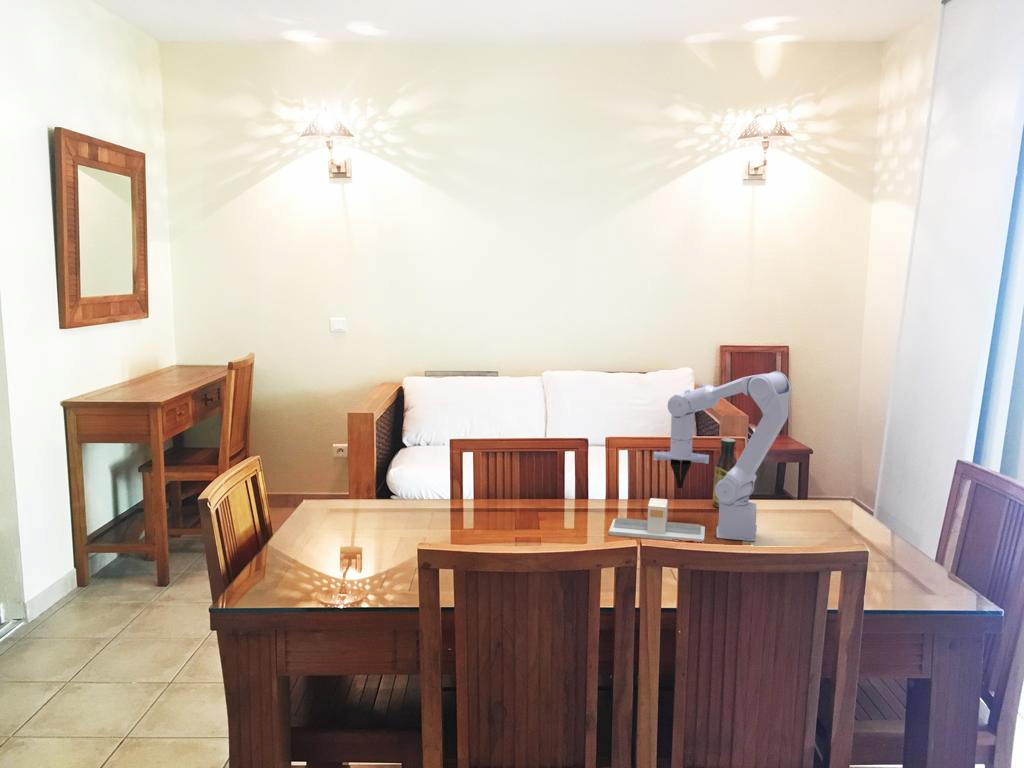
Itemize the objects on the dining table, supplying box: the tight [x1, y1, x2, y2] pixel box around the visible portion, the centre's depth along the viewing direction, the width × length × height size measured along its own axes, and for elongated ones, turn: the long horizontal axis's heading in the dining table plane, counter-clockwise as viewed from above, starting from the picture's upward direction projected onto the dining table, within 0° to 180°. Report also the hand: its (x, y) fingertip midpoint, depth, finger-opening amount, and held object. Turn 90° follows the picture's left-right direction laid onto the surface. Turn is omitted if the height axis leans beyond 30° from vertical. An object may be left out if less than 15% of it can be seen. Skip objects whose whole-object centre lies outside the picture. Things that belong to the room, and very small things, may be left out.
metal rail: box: [614, 517, 702, 535], centre depth 207 cm, size 22×4×2 cm, turn 75°
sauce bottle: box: [712, 437, 738, 508], centre depth 227 cm, size 7×6×20 cm
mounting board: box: [608, 518, 706, 544], centre depth 207 cm, size 24×10×1 cm, turn 75°
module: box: [647, 497, 669, 534], centre depth 207 cm, size 4×7×7 cm, turn 165°
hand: (679, 487), depth 215 cm, fingers closed
